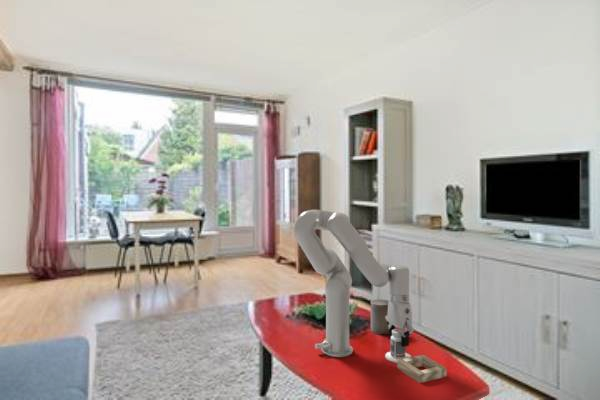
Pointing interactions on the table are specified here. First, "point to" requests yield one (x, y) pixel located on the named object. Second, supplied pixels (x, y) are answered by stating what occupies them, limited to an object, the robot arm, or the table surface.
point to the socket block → (428, 374)
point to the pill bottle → (397, 345)
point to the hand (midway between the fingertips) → (398, 342)
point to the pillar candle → (379, 316)
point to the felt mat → (395, 360)
